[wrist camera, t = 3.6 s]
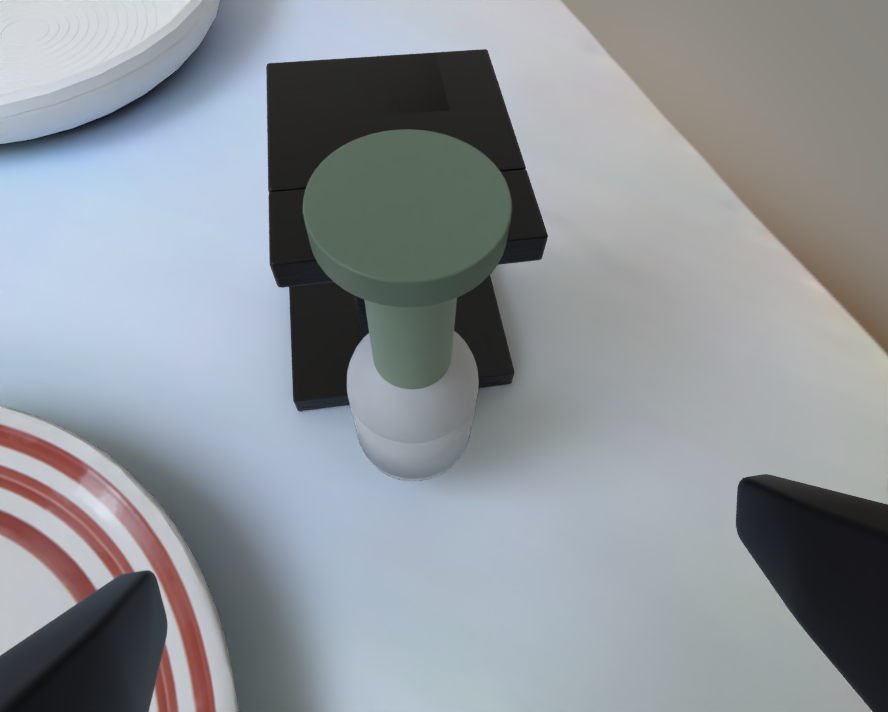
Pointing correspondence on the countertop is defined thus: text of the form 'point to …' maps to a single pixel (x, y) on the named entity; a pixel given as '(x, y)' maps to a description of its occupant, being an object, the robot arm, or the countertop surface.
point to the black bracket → (360, 114)
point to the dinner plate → (100, 555)
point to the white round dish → (88, 57)
